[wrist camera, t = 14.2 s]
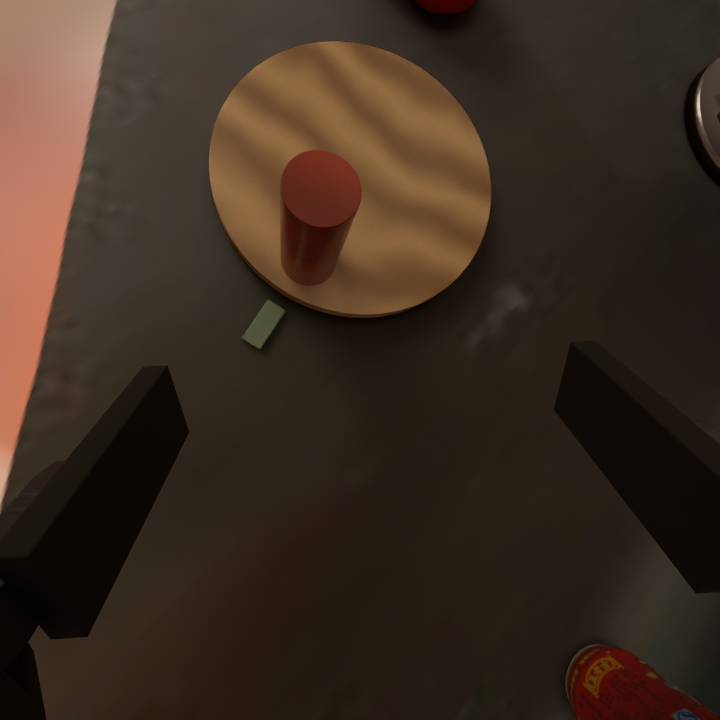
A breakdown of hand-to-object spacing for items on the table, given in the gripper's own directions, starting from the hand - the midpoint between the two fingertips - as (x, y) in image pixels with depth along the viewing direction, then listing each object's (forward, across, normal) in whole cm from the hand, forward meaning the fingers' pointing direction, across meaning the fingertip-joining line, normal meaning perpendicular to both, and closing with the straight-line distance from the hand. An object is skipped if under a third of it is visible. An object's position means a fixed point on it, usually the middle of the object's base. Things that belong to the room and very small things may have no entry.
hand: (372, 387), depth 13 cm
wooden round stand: (+24, -1, -4) cm, 24 cm away
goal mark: (+17, +7, +5) cm, 19 cm away
